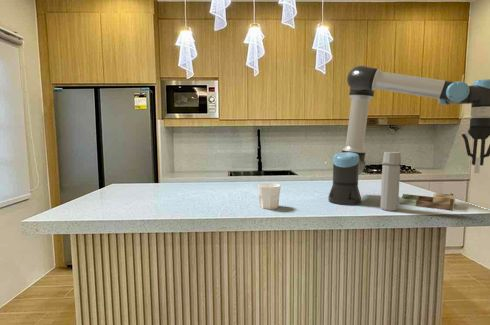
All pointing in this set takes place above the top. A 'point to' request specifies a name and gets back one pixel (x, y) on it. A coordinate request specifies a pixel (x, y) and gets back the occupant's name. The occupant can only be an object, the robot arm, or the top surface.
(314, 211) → the top surface
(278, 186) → the cup
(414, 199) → the bay
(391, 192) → the water bottle
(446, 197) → the crate
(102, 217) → the top surface
